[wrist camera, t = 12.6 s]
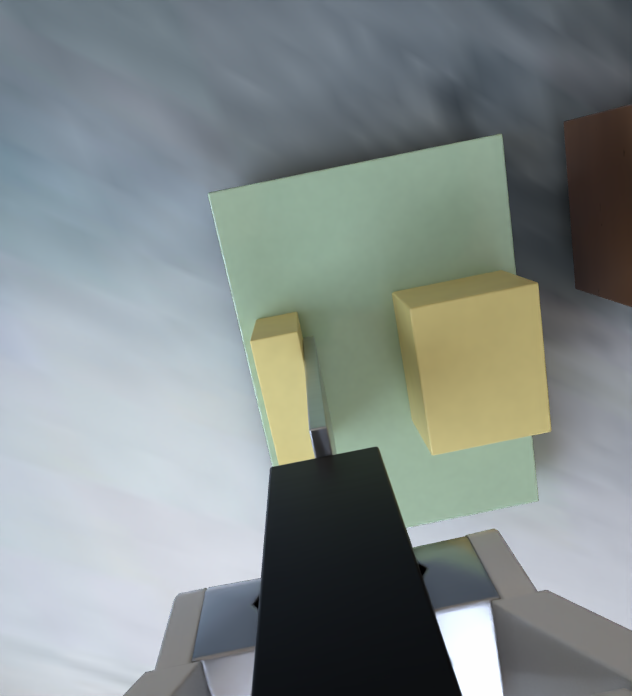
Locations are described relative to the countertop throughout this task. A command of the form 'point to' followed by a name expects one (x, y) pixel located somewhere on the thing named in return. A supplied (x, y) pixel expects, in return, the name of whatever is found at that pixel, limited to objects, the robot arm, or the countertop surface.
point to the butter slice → (283, 384)
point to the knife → (342, 578)
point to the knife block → (601, 202)
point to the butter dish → (378, 300)
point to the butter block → (474, 360)
